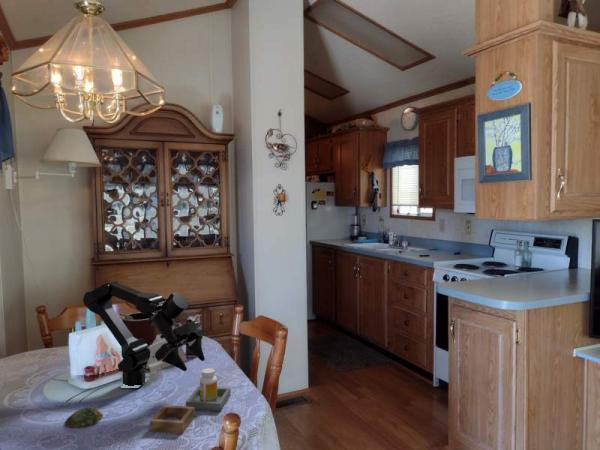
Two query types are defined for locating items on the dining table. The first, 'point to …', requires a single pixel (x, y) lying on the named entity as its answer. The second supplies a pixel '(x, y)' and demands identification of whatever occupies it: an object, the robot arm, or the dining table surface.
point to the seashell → (84, 418)
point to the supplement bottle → (208, 385)
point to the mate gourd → (140, 326)
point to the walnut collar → (172, 425)
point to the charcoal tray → (215, 406)
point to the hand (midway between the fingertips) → (195, 365)
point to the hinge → (157, 365)
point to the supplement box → (199, 320)
